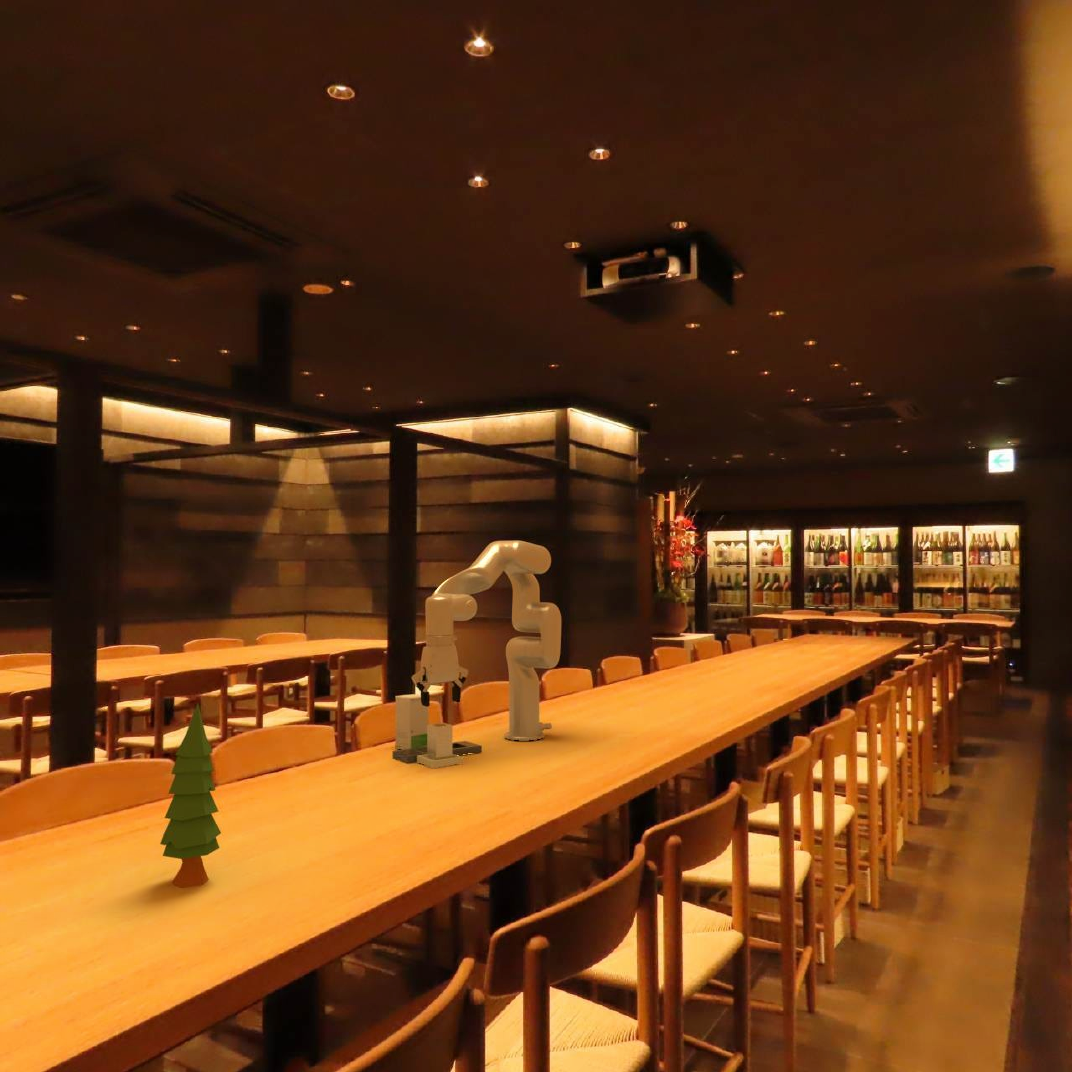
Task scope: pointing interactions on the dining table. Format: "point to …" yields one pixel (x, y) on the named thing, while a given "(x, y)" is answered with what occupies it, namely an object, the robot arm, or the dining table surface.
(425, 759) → the tray
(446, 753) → the tall white block
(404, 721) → the skincare box
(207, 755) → the decorative tree
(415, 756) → the dark grey slotted base
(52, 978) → the dining table surface
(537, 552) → the robot arm
